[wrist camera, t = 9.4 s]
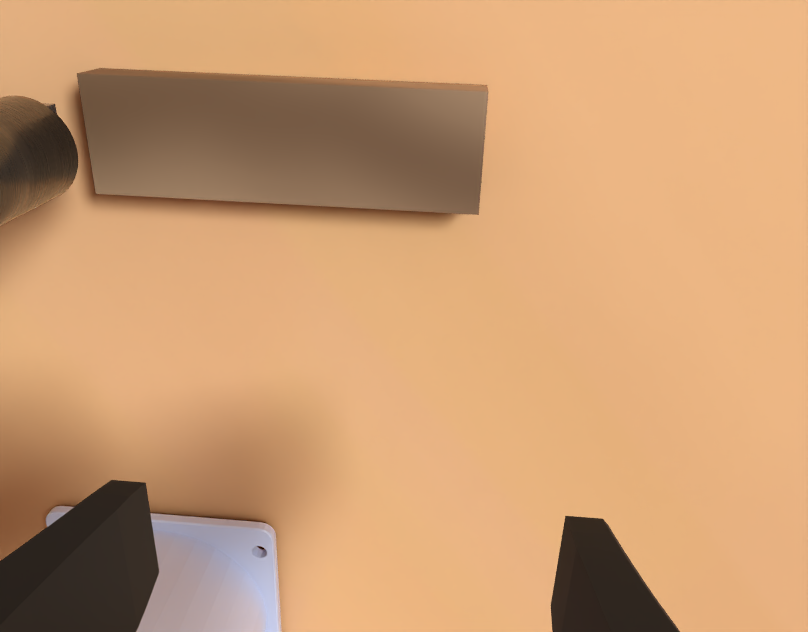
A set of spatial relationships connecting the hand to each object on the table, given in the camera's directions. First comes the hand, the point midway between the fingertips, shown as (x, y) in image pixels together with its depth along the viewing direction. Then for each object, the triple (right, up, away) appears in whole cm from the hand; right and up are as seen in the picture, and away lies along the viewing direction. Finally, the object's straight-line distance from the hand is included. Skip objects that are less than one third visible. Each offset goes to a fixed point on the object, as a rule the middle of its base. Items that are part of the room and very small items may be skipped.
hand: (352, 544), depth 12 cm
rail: (-2, +9, +7) cm, 11 cm away
